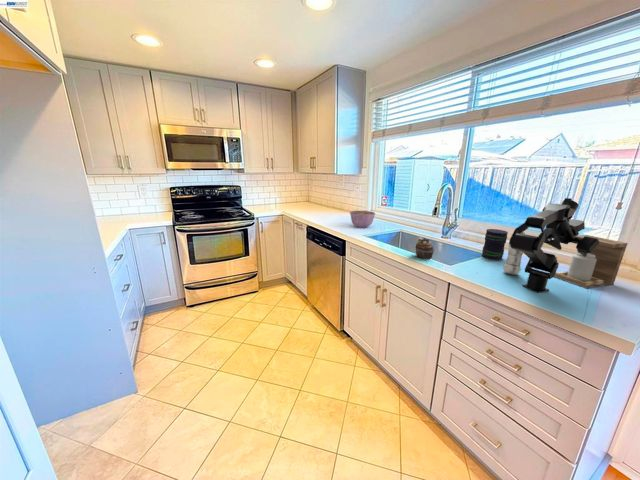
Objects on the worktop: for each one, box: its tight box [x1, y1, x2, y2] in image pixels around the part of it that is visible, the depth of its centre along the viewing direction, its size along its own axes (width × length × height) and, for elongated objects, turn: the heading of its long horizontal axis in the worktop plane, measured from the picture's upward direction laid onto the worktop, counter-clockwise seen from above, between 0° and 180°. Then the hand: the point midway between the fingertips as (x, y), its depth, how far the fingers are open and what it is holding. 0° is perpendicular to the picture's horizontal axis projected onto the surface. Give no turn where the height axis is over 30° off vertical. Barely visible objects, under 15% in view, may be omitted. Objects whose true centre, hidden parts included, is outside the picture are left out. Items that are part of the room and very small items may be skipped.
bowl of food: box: [349, 210, 376, 229], centre depth 214 cm, size 20×20×12 cm
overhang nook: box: [553, 234, 628, 289], centre depth 116 cm, size 17×14×18 cm
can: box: [567, 251, 597, 282], centre depth 116 cm, size 8×8×12 cm
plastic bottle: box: [502, 231, 525, 276], centre depth 121 cm, size 6×7×20 cm
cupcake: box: [415, 237, 435, 260], centre depth 144 cm, size 10×10×10 cm
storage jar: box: [481, 228, 509, 261], centre depth 145 cm, size 10×10×15 cm
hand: (572, 252), depth 112 cm, fingers open, 9 cm apart
